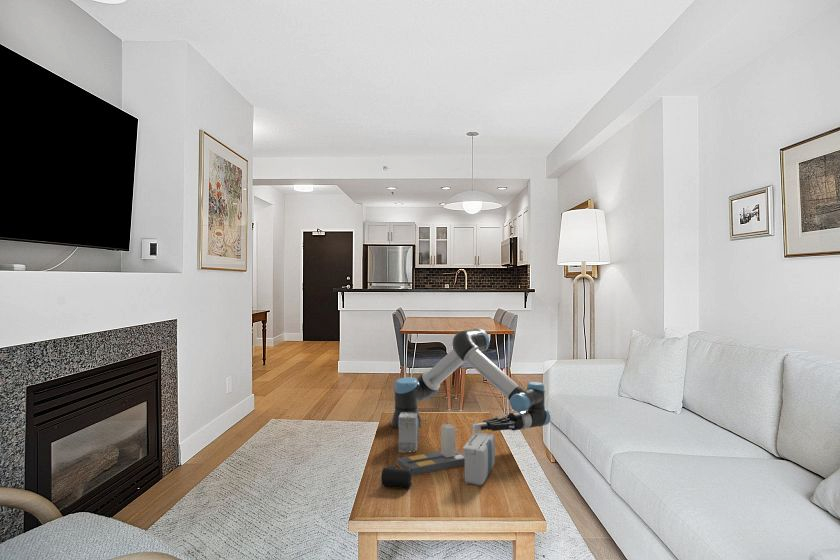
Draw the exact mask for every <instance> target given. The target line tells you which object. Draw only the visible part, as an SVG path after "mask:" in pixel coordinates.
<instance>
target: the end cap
mask: <svg viewBox="0 0 840 560" xmlns="http://www.w3.org/2000/svg"><path fill="white" fill-rule="evenodd" d="M411 473H412V468H411V467H406V466H405V467H403V468H402V469H401V468H397V465H388V466H387V467H383V468H382V471H381V478H380V481H381V485H382V486H383V487H384V488H385V487H387V488H392V489H393V488H396V489H405V490H410V488H411V487H412V484H413V483H412V480H413V475H411Z"/></svg>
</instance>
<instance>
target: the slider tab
mask: <svg viewBox="0 0 840 560" xmlns="http://www.w3.org/2000/svg"><path fill="white" fill-rule="evenodd" d="M456 435H457V434H456V426H454V425H453V424H451V423H446V424H440V451H441V454H442V455H443V456H445V457H446V458H449V457H454V456H456V450H457V449H456V448H457V447H456V446H457V445H456V440H457V439H456V438H457V437H456Z"/></svg>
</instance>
